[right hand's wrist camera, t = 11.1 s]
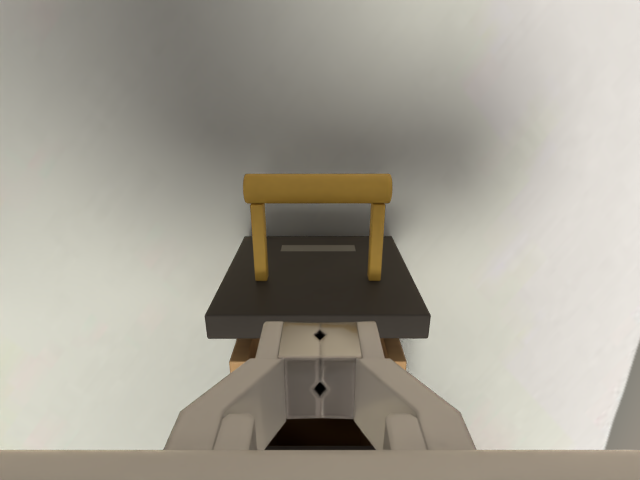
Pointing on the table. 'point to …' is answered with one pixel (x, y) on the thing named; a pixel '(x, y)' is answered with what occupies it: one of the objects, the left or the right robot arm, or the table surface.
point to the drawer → (317, 284)
